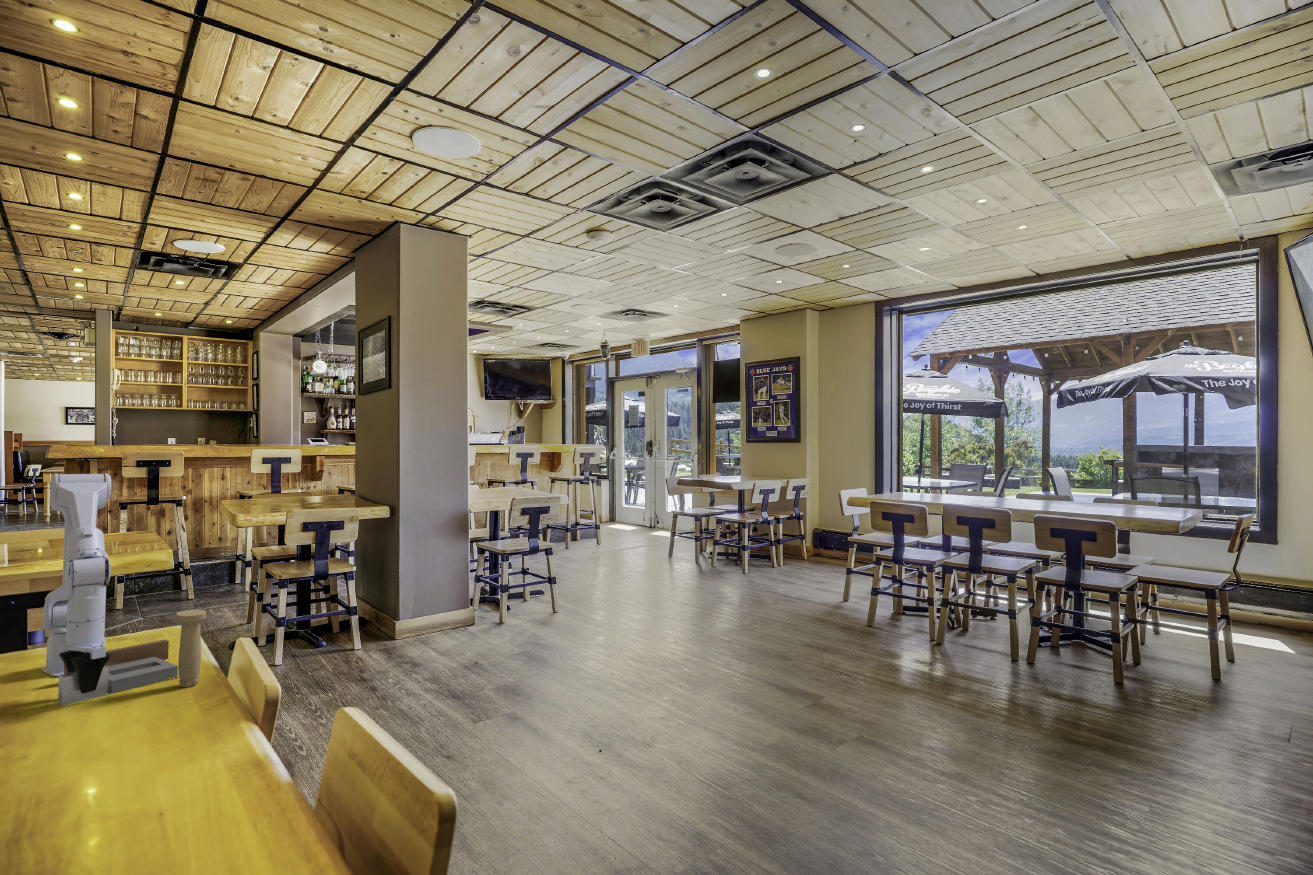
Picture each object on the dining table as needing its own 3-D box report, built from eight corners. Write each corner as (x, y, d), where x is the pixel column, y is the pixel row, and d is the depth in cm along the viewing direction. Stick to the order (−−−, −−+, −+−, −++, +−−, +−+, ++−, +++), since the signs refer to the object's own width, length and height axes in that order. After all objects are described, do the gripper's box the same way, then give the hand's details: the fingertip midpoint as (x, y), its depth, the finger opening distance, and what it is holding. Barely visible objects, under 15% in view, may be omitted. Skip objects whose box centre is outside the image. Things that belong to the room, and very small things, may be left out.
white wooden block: (57, 703, 126) (58, 674, 126) (103, 693, 132) (104, 665, 132) (61, 706, 125) (63, 677, 125) (107, 695, 131) (108, 667, 131)
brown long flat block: (63, 683, 137) (64, 658, 137) (164, 661, 152) (165, 639, 153) (66, 684, 136) (67, 660, 136) (168, 662, 151) (168, 640, 151)
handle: (179, 691, 133) (182, 617, 133) (170, 684, 137) (172, 612, 138) (207, 685, 137) (209, 613, 137) (197, 678, 141) (199, 608, 141)
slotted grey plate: (90, 682, 138) (90, 670, 138) (154, 667, 148) (154, 656, 148) (111, 693, 132) (112, 680, 132) (177, 677, 141) (177, 665, 141)
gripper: (46, 618, 130) (43, 687, 129) (73, 629, 122) (70, 703, 121) (91, 611, 136) (89, 677, 135) (119, 621, 128) (117, 691, 127)
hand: (83, 689), depth 129 cm, fingers open, 4 cm apart
